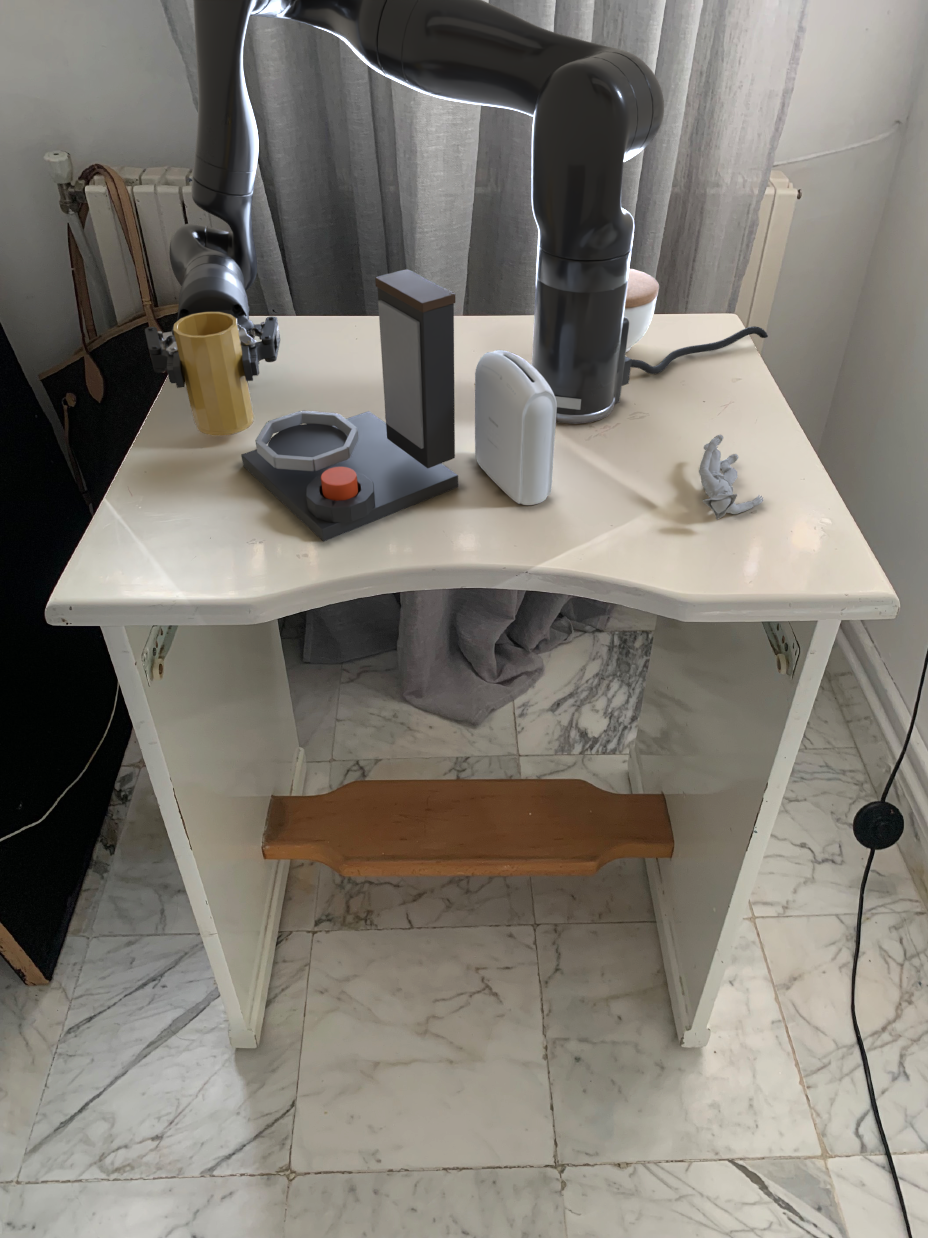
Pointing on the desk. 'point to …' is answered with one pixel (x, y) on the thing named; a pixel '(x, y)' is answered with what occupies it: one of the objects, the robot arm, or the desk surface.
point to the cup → (214, 372)
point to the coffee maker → (388, 386)
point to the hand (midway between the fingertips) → (213, 375)
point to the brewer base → (380, 478)
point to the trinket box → (639, 304)
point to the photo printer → (514, 426)
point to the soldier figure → (721, 481)
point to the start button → (339, 483)
